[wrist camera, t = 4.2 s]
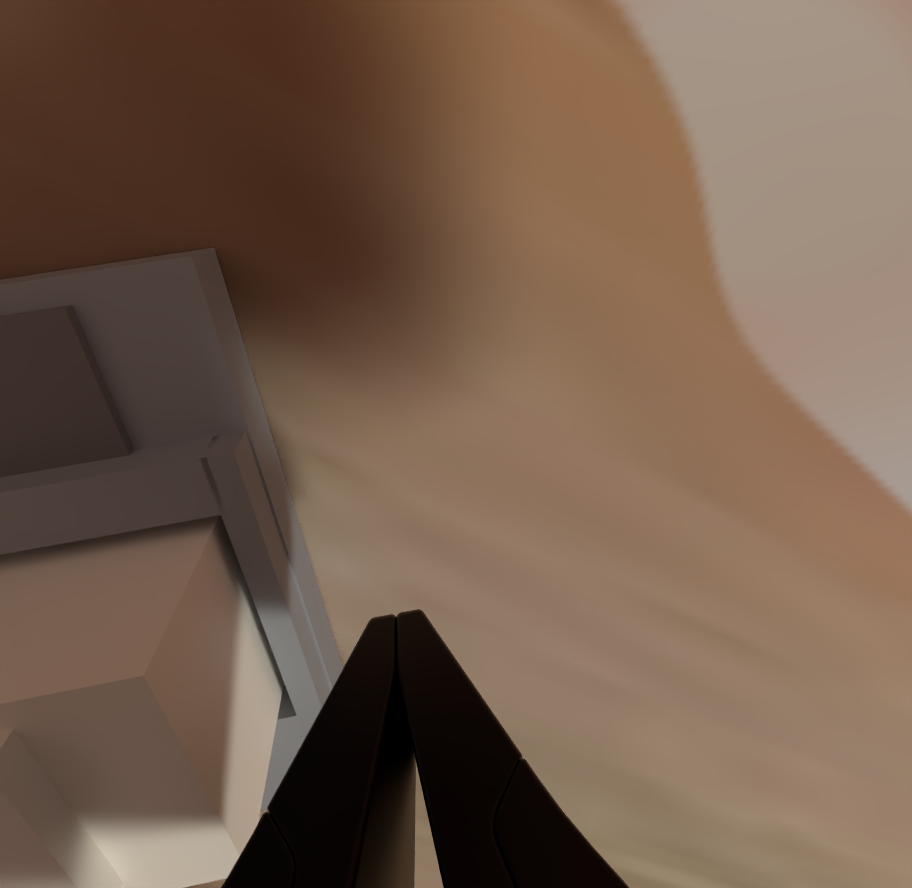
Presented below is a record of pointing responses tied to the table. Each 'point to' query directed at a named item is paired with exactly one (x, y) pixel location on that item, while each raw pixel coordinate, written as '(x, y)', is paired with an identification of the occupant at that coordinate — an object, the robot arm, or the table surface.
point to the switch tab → (131, 710)
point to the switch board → (156, 443)
